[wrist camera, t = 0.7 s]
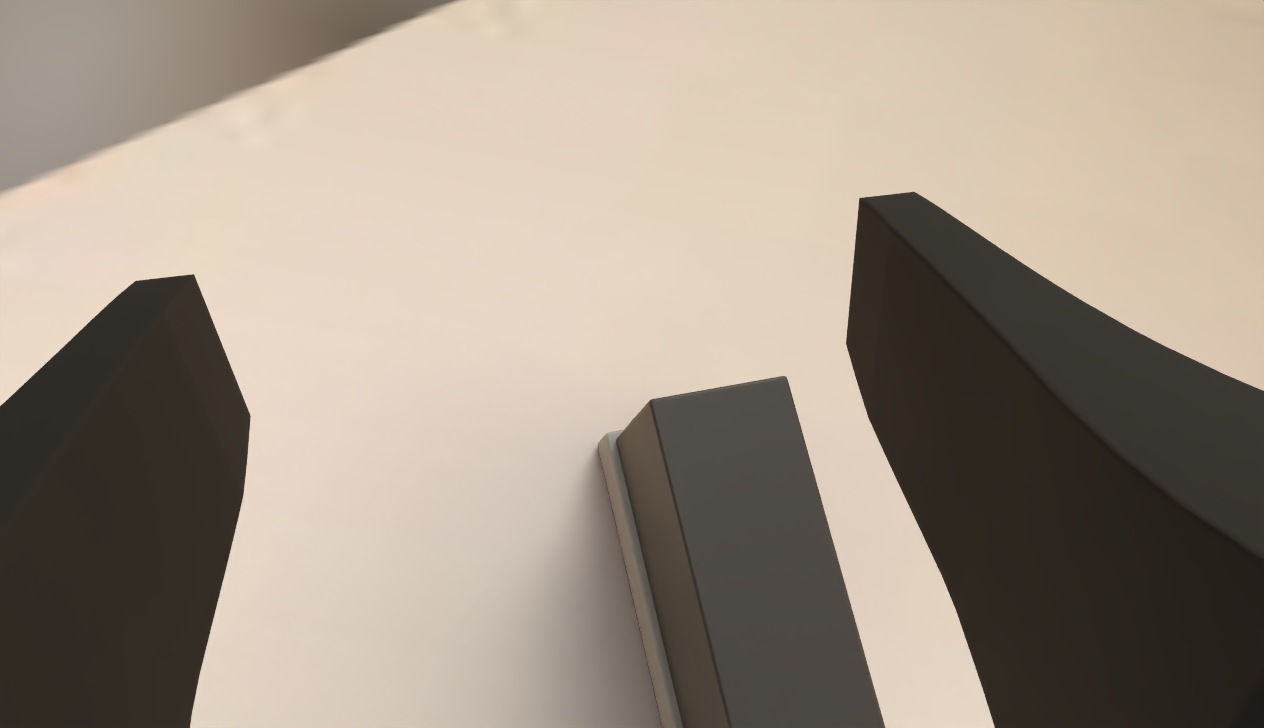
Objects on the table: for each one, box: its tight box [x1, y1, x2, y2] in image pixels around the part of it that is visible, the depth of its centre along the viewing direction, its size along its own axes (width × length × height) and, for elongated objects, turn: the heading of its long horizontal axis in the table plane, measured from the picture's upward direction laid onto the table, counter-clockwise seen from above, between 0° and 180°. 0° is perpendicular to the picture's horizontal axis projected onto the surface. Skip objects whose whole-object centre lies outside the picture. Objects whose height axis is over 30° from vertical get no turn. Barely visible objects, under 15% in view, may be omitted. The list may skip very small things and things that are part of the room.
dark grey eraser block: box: [598, 376, 885, 728], centre depth 25 cm, size 12×4×5 cm, turn 13°
